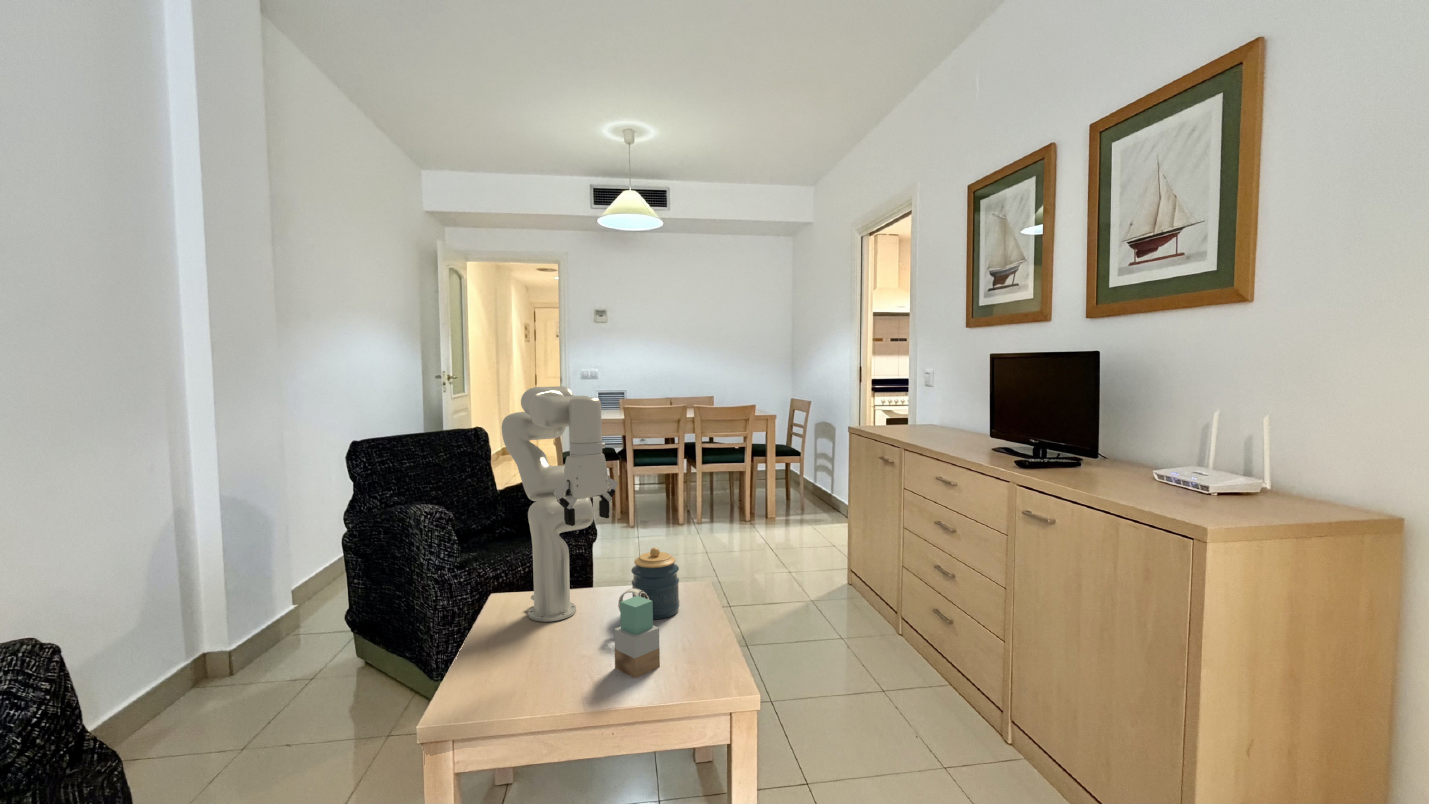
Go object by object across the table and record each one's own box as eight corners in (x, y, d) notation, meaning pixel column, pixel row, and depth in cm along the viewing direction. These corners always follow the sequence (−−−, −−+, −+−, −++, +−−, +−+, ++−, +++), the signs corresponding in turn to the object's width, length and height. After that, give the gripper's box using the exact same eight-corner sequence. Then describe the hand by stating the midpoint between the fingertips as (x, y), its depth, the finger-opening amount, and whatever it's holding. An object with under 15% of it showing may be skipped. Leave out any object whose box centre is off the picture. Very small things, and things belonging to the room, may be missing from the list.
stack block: (620, 628, 136) (620, 601, 135) (637, 621, 139) (637, 595, 139) (636, 634, 132) (635, 607, 132) (652, 627, 136) (652, 600, 136)
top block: (614, 648, 136) (614, 628, 136) (639, 638, 141) (639, 619, 141) (634, 658, 131) (634, 637, 131) (659, 647, 136) (659, 627, 136)
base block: (615, 668, 136) (614, 649, 136) (639, 657, 141) (638, 638, 141) (635, 679, 131) (635, 658, 131) (659, 667, 136) (659, 647, 136)
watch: (645, 639, 151) (645, 595, 150) (615, 636, 153) (614, 592, 152) (653, 630, 156) (653, 587, 156) (624, 627, 158) (623, 585, 158)
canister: (666, 599, 178) (665, 539, 177) (687, 614, 166) (686, 549, 166) (624, 608, 171) (623, 545, 170) (643, 624, 160) (642, 557, 159)
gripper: (606, 445, 154) (607, 512, 155) (544, 451, 142) (546, 525, 142) (624, 447, 149) (626, 517, 150) (562, 454, 136) (564, 530, 137)
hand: (587, 521), depth 146 cm, fingers open, 9 cm apart
